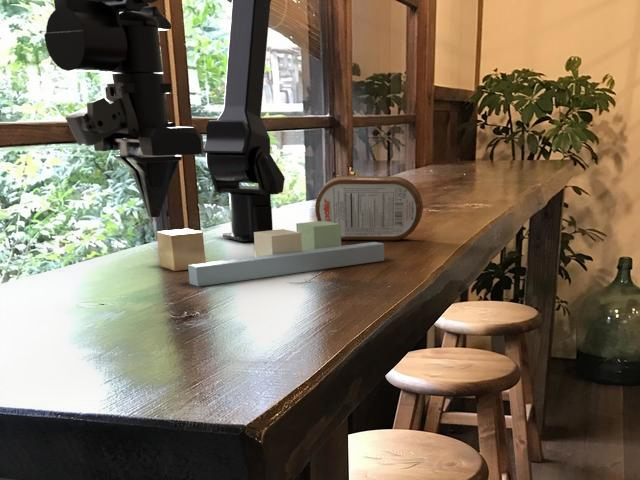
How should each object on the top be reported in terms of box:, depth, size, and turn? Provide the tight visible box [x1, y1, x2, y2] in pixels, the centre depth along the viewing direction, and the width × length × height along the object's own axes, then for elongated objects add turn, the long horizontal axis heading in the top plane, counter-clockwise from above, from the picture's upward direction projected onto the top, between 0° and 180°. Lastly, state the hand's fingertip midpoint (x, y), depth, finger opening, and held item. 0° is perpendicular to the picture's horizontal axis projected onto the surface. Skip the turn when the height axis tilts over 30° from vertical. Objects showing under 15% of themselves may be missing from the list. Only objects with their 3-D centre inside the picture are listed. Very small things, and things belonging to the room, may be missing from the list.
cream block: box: [253, 228, 302, 257], centre depth 94 cm, size 4×4×4 cm
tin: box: [314, 175, 424, 241], centre depth 112 cm, size 15×3×8 cm, turn 84°
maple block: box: [156, 228, 207, 272], centre depth 95 cm, size 4×4×4 cm
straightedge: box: [187, 241, 385, 288], centre depth 92 cm, size 2×25×2 cm, turn 127°
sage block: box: [295, 220, 342, 251], centre depth 101 cm, size 4×4×4 cm
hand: (154, 216), depth 99 cm, fingers closed
